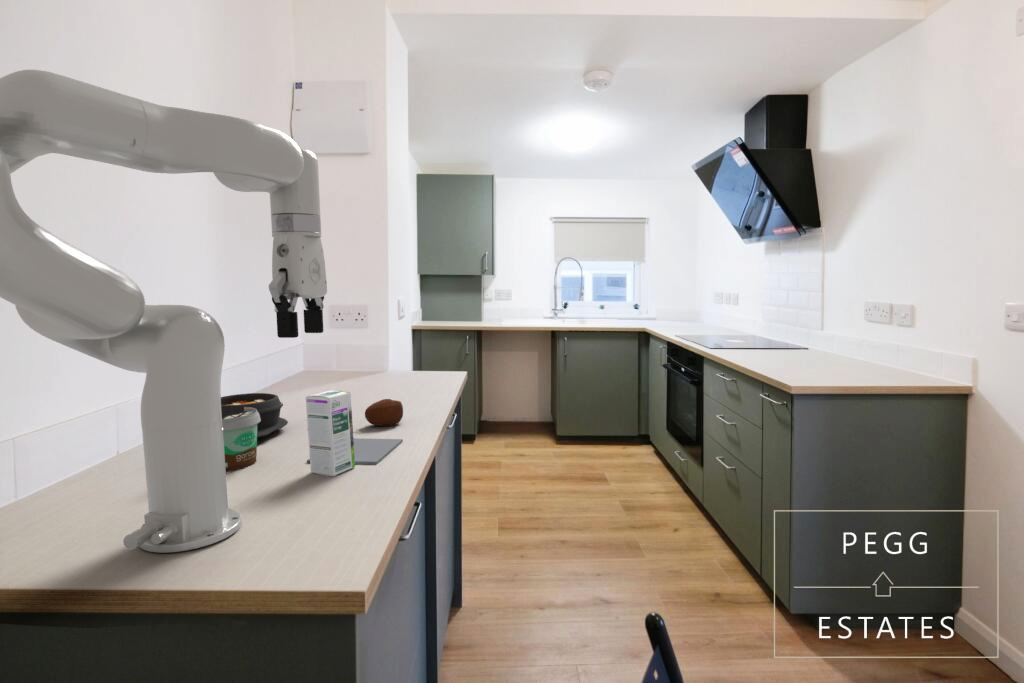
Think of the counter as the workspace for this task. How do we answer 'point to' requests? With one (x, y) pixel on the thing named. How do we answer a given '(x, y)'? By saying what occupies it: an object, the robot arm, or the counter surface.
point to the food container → (240, 438)
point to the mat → (372, 449)
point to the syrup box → (330, 432)
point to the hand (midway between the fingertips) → (301, 334)
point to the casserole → (265, 407)
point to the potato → (384, 412)
